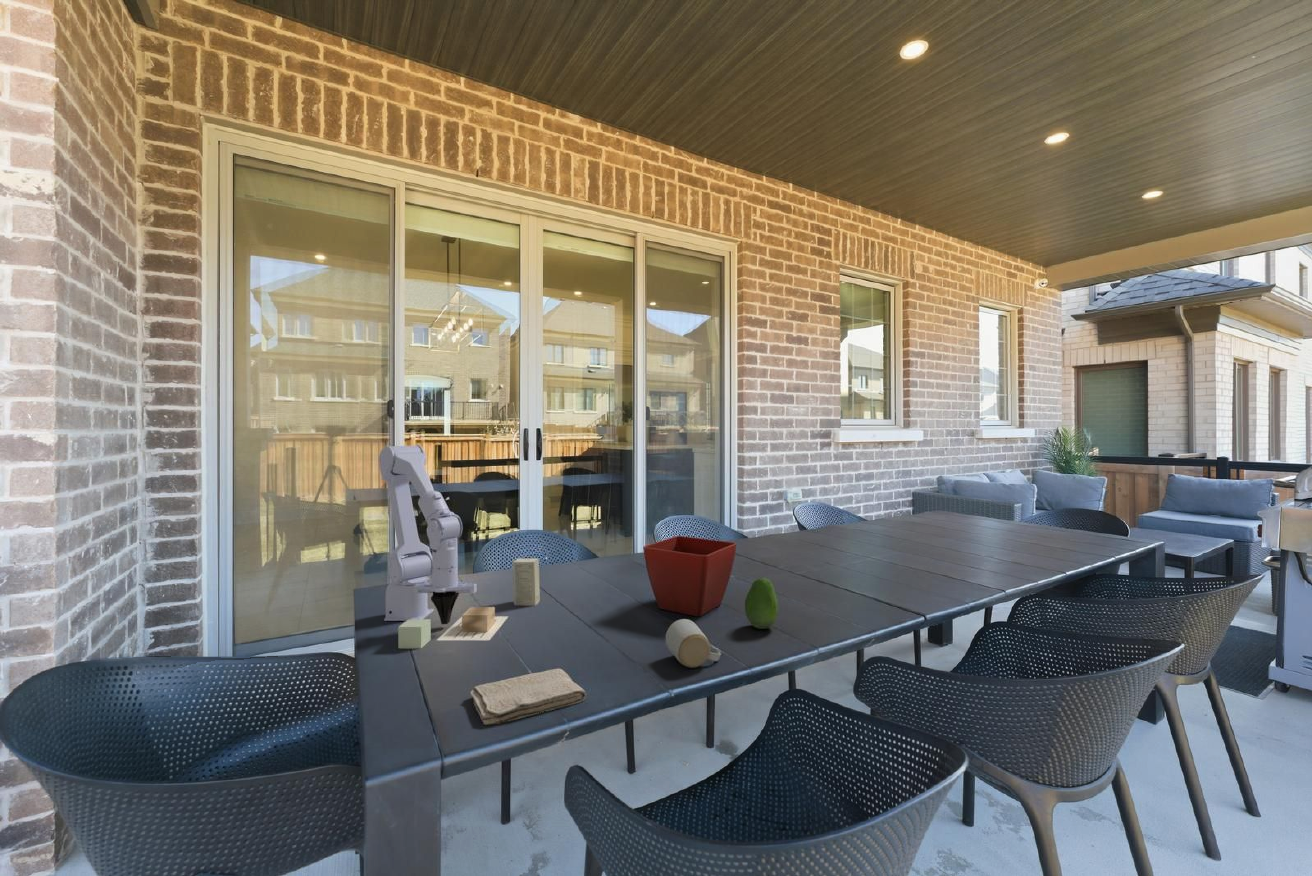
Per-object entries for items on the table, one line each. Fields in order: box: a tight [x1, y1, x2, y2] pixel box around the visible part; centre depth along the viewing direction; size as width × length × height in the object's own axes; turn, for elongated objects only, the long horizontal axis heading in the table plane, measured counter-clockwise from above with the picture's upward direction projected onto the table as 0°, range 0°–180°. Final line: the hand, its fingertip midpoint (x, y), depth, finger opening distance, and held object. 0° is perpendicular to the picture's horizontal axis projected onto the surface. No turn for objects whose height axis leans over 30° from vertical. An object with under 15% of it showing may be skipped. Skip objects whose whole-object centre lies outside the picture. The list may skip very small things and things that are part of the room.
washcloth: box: [469, 668, 587, 726], centre depth 98 cm, size 12×18×3 cm, turn 121°
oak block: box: [461, 606, 496, 632], centre depth 133 cm, size 6×6×4 cm
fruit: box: [744, 577, 779, 630], centre depth 133 cm, size 8×8×12 cm
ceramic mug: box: [665, 618, 722, 669], centre depth 114 cm, size 11×8×8 cm
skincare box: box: [512, 557, 541, 607], centre depth 152 cm, size 6×4×12 cm
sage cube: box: [397, 618, 432, 649], centre depth 123 cm, size 5×5×5 cm
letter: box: [436, 615, 509, 642], centre depth 133 cm, size 12×16×1 cm
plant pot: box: [642, 535, 737, 617], centre depth 149 cm, size 19×19×17 cm
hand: (445, 622), depth 133 cm, fingers closed
